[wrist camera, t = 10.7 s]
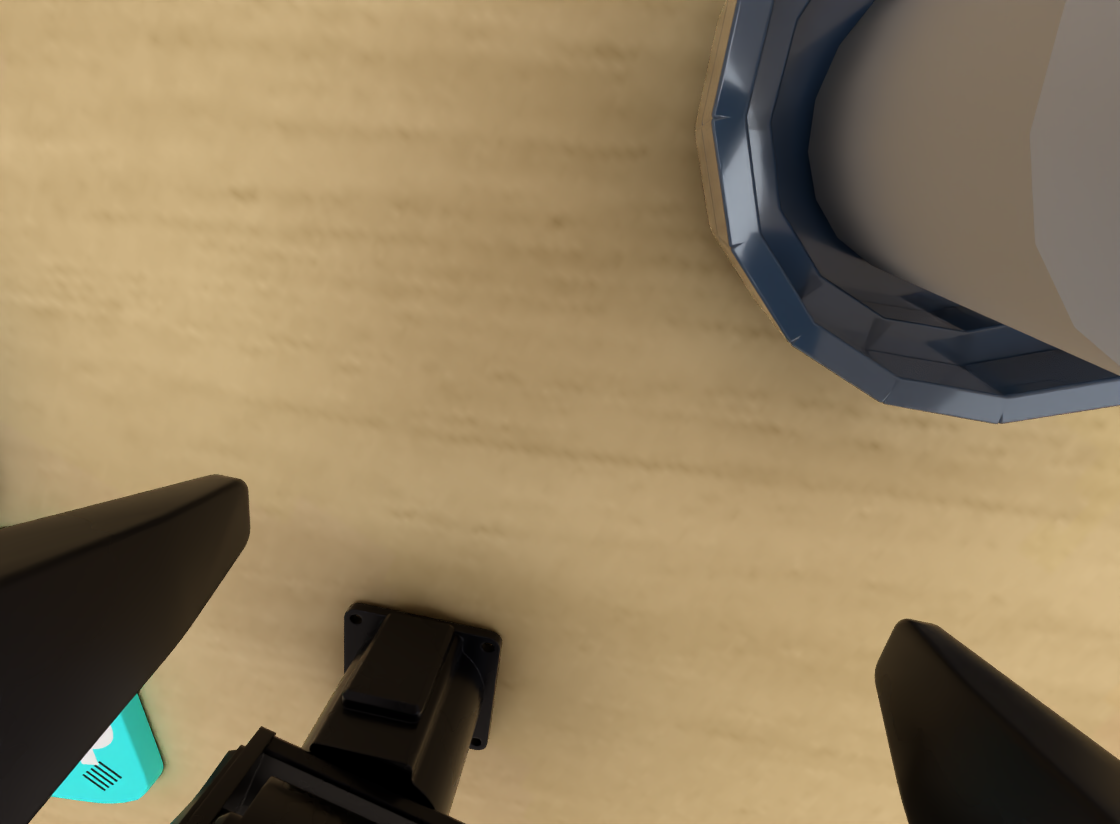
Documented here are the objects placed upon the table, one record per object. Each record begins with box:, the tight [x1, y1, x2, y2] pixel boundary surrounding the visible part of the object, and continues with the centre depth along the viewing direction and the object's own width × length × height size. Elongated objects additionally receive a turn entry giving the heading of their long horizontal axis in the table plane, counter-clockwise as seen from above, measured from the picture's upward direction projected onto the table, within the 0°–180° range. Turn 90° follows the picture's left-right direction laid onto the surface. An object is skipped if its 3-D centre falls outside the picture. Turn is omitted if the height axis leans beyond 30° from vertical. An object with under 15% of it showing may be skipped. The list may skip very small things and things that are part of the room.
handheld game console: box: [51, 694, 164, 803], centre depth 28 cm, size 10×16×1 cm, turn 1°
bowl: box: [695, 0, 1120, 424], centre depth 13 cm, size 13×13×5 cm
